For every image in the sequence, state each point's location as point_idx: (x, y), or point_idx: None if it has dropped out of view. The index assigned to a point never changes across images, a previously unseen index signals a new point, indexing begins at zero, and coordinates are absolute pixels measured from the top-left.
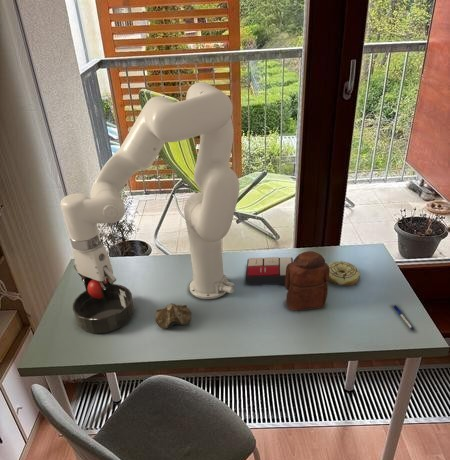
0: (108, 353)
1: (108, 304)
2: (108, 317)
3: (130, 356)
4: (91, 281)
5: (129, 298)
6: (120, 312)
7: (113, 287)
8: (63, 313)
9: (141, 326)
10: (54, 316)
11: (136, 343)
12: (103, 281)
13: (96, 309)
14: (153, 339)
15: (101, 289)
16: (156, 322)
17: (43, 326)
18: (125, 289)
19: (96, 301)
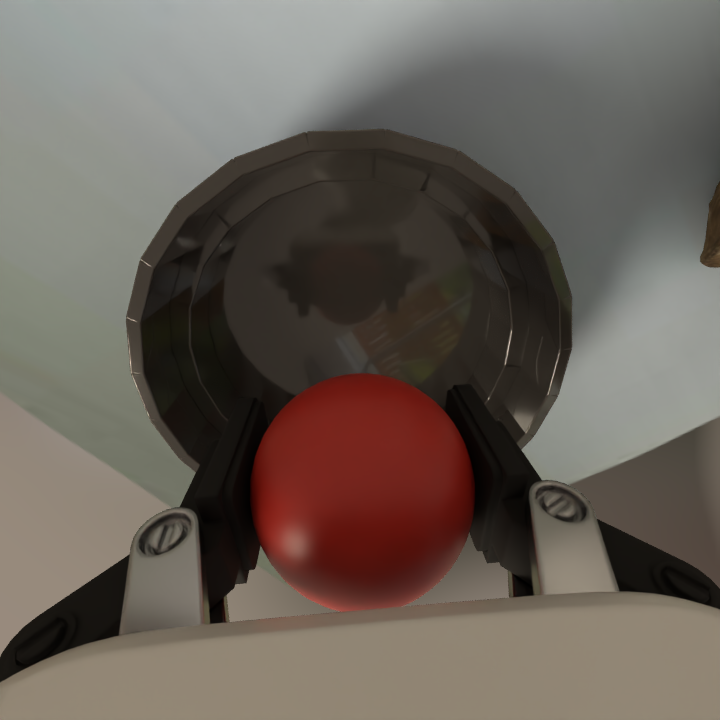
0: None
1: (295, 266)
2: None
3: (618, 444)
4: (333, 608)
5: (450, 188)
6: (552, 401)
7: (253, 174)
8: (149, 426)
9: (587, 298)
10: (139, 456)
11: (612, 390)
12: (447, 522)
13: (273, 336)
14: (684, 336)
15: (491, 562)
16: (709, 263)
17: (173, 505)
18: (409, 158)
19: (208, 290)
